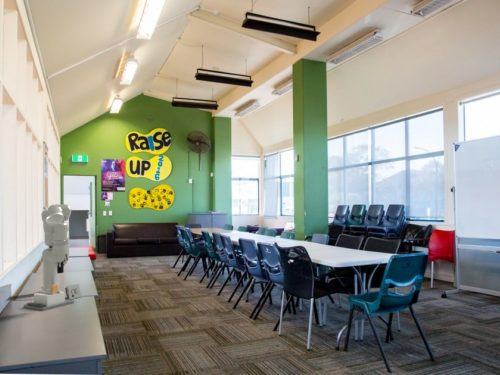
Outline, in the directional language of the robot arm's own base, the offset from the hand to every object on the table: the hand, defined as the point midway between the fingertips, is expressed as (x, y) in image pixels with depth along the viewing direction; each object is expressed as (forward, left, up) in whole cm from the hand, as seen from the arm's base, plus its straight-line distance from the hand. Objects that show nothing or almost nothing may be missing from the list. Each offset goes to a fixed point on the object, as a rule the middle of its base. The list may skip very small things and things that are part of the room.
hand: (60, 272), depth 248 cm
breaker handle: (-6, 0, -13) cm, 14 cm away
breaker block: (-10, 0, -21) cm, 23 cm away
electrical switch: (-13, +19, -21) cm, 31 cm away
